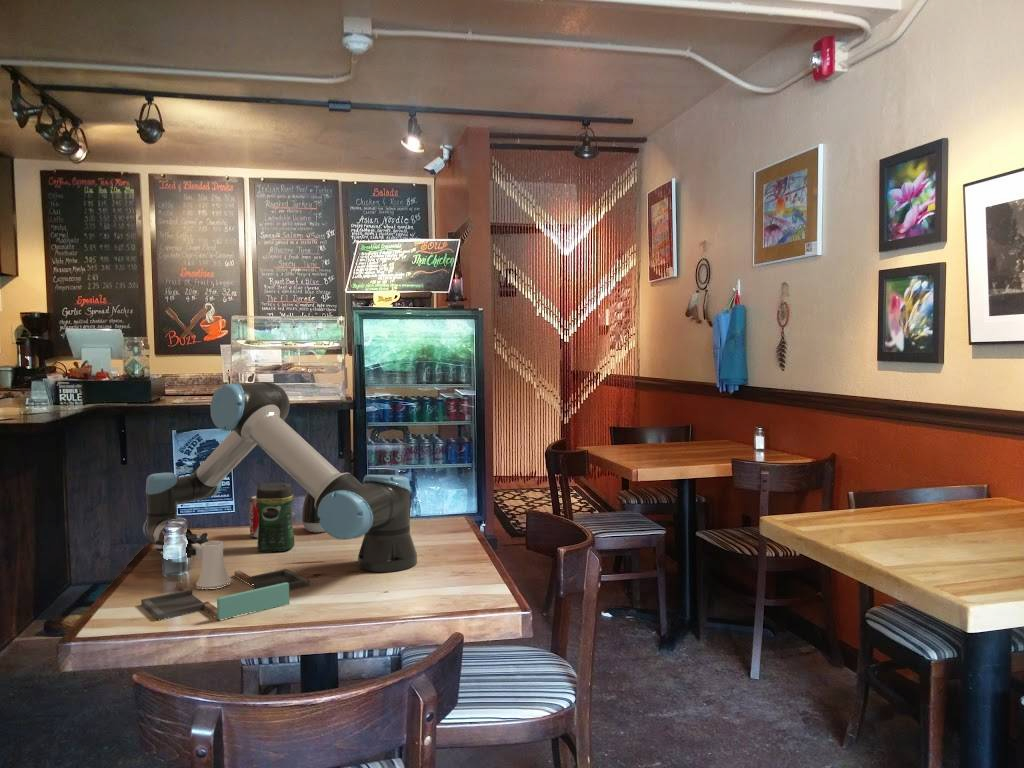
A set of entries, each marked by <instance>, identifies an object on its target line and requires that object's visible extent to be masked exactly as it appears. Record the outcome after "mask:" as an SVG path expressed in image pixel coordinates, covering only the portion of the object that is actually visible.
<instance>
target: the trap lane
mask: <svg viewBox="0 0 1024 768" xmlns="http://www.w3.org/2000/svg"><path fill="white" fill-rule="evenodd" d="M235 576H237V577H239V578H240V579H242V580H243V581H242V580H241V581H242V582H244V581H245V582H247V583H249V584H250V585H252V584H254V585H252V586H254V587H255V588H257V589H259V588H263V587H268V586H272V585H276V584H281V583H285V582H287V583H289V589H291V590H295V588H296V589H300V588H304V587H308V586H310V580H309V579H308V578H306V577H304V576H301V575H300V574H299V573H295V572H294V571H291V570H289V569H288V568H283V569H279V570H278V569H277V570H275V571H270V572H265V573H261V574H255V575H252V576H251V575H249V574H247V573H245V572H244V571H242V570H234V577H235ZM237 577H236V578H237ZM239 578H238V579H239ZM240 579H239V580H240ZM245 582H244V583H245ZM247 583H246V584H247ZM249 584H248V585H249ZM250 585H249V586H250ZM252 586H251V587H252ZM254 587H253V588H254ZM299 587H300V588H299ZM255 588H254V589H255ZM175 589H176V591H175V592H172V593H167V594H161V595H158V596H156V595H155V596H152V597H148V598H143V599H141V606H142V607H143V608H144V609H145V610H146V611H147V612H148V613H149V614H150V615H152V616H153V617H154V616H155V617H156V618H157V619H158V620H159V619H163V620H165V619H164V618H167V619H169V618H168V617H172V618H174V617H173V616H176V617H179V616H178V615H180V616H183V615H182V614H184V615H187V614H186V613H189V614H192V613H191V612H193V613H196V612H195V611H197V612H200V611H199V610H202V611H205V610H206V611H208V612H209V613H210V614H212V615H213V616H215V617H216V618H217V606H215V605H214V604H213V603H211V602H209V601H204V602H203V601H201V599H199V598H198V597H196V596H195V595H193V589H191V588H190V587H188V586H187V585H186V584H184V583H183V582H176V583H175ZM178 590H179V591H178ZM203 609H205V610H203ZM206 611H205V612H206ZM208 612H207V613H208ZM209 613H208V614H209ZM210 614H209V615H210ZM212 615H211V616H212ZM213 616H212V617H213ZM155 617H154V618H155ZM156 618H155V619H156ZM216 618H215V619H216ZM157 619H156V620H157ZM158 620H157V621H158ZM159 621H160V620H159Z"/></svg>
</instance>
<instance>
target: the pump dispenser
mask: <svg viewBox="0 0 1024 768" xmlns="http://www.w3.org/2000/svg"><path fill="white" fill-rule="evenodd" d="M319 521H320V518H318V511H317V510H316V508H315V499H314V498H313V497H312V496H311V495H310V494H309V493H308V492H307V491H306V494H305V496H304V499H303V504H302V509H301V522H302V524H303V527H304V529H305V530H307V531H308V532H309V533H312V532H313V533H315V534H321V533H324V532H325V531H324V529H323V528H322V527H321V525H320V522H319ZM320 532H321V533H320ZM325 533H326V532H325Z"/></svg>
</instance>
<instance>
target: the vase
mask: <svg viewBox="0 0 1024 768" xmlns="http://www.w3.org/2000/svg"><path fill="white" fill-rule="evenodd" d="M224 543H225V542H224V541H222V540H208V542H205V543H202V544H201V545H202V551H203V560H202V565H201V570H200V574H199V578H198V581H196V582H195V585H196V589H197V590H199V589H202V588H204V589H205V588H206V589H209V588H217V587H222V586H223V587H224V585H225V586H226V585H228V584H229V583H230V582H231V580H232V579H231V577H229V575H228V573H227V572H228V571H227V570H226V566H225V562H224V560H225V559H224ZM227 583H228V584H227ZM224 588H225V587H224ZM201 591H204V590H203V589H202V590H201Z"/></svg>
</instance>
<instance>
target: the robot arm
mask: <svg viewBox="0 0 1024 768" xmlns="http://www.w3.org/2000/svg"><path fill="white" fill-rule="evenodd" d="M286 392H287V391H285V390H284V389H283V388H282V387H281V386H280V385H278V384H276V383H273V382H269V381H262V382H232V383H228V384H223V385H222V386H220V387H218V388H217V389H216V390H215V392H214V393H213V395H212V396H211V397H212V398H211V400H210V405H209V406H210V407H209V408H210V417H211V420H212V423H213V424H214V425H215V427H216V428H217V429H219V430H221V431H226V432H230V431H231V432H230V433H229V434H228V435H227V436H226V437H225V438H224V439H223V441H221V443H220V444H218V446H217V447H216V448H215V449H214V450H213V451H212V453H210V455H209V456H208V457H207V458H206V459H205V460H204V461H203V462H202V463H201V464H200V465H199V467H198V468H196V469H195V471H194V472H193V473H192V474H190V475H186V476H179V477H177V475H176V474H175V473H174V472H160V473H159V472H158V473H151V474H149V475H148V476H147V478H146V483H145V497H146V520H145V521H144V523H143V525H142V529H143V530H142V531H143V534H144V536H145V537H146V538H147V540H149V542H151V543H154V544H155V551H156V552H162V553H164V552H163V545H164V535H163V533H162V531H163V529H164V528H165V525H166V523H167V522H168V521H169V520H171V519H177V520H178V505H182V504H185V503H191V502H194V501H196V502H197V501H200V500H207V499H209V498H211V497H215V496H216V495H218V494H219V492H220V491H221V487H222V482H223V480H224V479H225V478H226V477H227V476H228V475H229V474H231V472H232V471H233V469H235V468H236V467H237V466H239V464H240V463H241V461H243V460H244V459H245V458H246V456H248V454H249V453H250V452H251V451H252V450H253V449H254V448H255V447H256V446H259V448H261V450H263V451H264V452H265V453H266V455H268V456H269V457H270V458H271V459H272V460H273V461H274V462H275V463H277V465H279V467H281V468H282V469H283V471H285V472H286V473H287V474H288V475H289V476H290V477H291V478H292V479H294V481H295V482H296V483H298V485H299V486H300V487H302V488H303V489H304V490H305V491H306V493H307V492H308V493H309V494H310V495H311V496H312V497H313V498H314V499H315V508H316V510H317V511H318V518H320V521H319V522H320V525H321V527H322V528H323V529H324V531H325V533H326V534H327V535H329V536H330V537H332V538H334V539H336V540H340V541H341V540H342V541H344V540H347V541H348V540H352V539H357V538H360V537H362V536H363V538H362V543H361V546H360V549H359V552H358V554H357V566H358V568H359V569H361V570H364V571H366V572H367V571H368V572H374V573H376V572H377V573H385V572H386V573H387V572H388V573H390V572H399V571H402V570H403V571H404V570H406V569H410V568H413V567H415V566H416V565H417V564H418V554H417V550H416V547H415V544H414V541H413V538H412V535H411V509H410V508H411V504H410V503H411V501H410V500H411V497H410V495H411V489H410V480H409V478H408V477H406V476H404V475H396V474H395V475H394V474H365V475H364V477H363V480H362V482H360V481H359V480H358V479H357V478H356V477H355V476H354V475H353V474H351V472H340V471H339V470H338V469H337V468H335V466H333V465H332V464H331V463H330V462H329V461H328V460H327V459H326V458H325V457H324V456H323V455H321V454H320V453H319V452H318V451H317V450H316V449H315V448H314V447H313V446H312V445H311V444H309V442H307V441H306V440H305V439H304V438H303V437H302V436H301V435H300V434H299V433H298V432H296V431H295V430H294V428H292V427H291V426H290V425H289V424H288V423H287V422H286V421H285V420H286V418H287V417H288V415H289V413H290V412H289V411H290V406H291V405H290V399H289V396H288V394H287V393H286ZM186 527H187V532H186V537H187V540H188V544H187V547H186V553H187V558H186V559H189V558H192V556H193V557H194V558H195V559H197V560H199V561H203V551H202V545H201V544H202V543H205V542H209V538H208V537H209V536H208V535H209V533H207V532H204V533H202V534H199V536H198V534H196V533H193V532H192V530H191V529H190V528H189V527H188V526H186Z"/></svg>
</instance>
